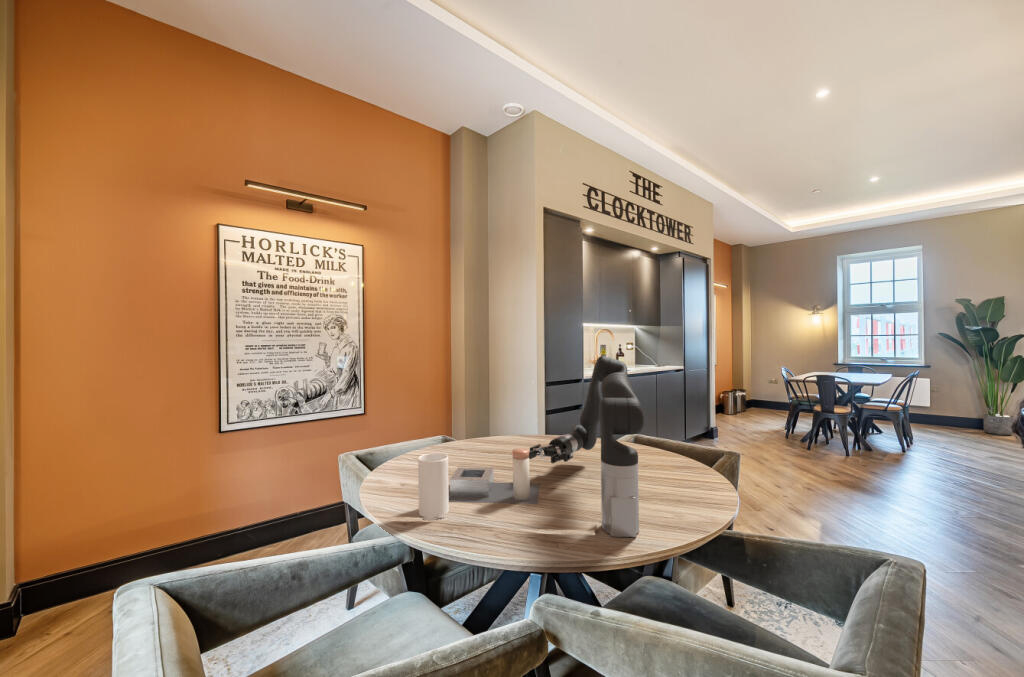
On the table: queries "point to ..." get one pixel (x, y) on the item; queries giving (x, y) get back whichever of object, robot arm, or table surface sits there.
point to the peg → (521, 474)
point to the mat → (500, 495)
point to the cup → (433, 485)
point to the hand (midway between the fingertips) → (540, 458)
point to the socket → (472, 482)
